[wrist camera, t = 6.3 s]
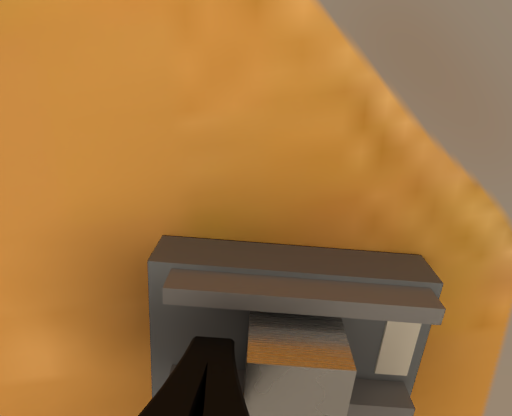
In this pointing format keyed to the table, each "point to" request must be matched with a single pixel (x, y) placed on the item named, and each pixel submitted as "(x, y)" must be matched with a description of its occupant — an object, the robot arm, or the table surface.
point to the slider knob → (297, 365)
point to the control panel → (297, 307)
